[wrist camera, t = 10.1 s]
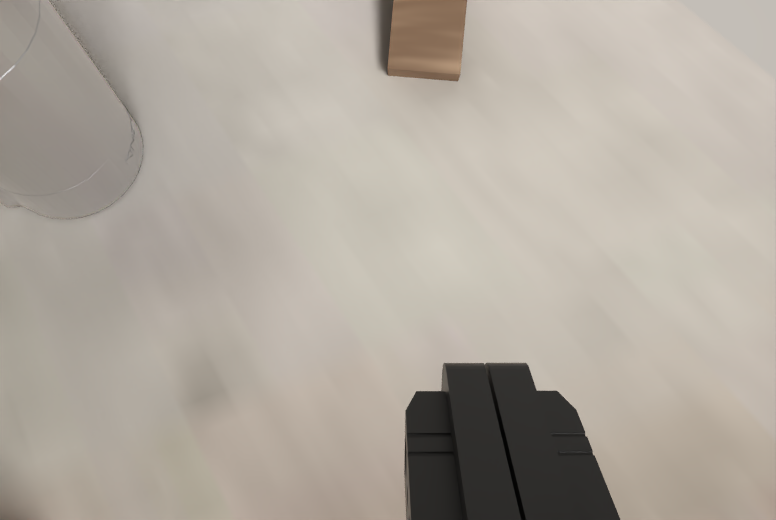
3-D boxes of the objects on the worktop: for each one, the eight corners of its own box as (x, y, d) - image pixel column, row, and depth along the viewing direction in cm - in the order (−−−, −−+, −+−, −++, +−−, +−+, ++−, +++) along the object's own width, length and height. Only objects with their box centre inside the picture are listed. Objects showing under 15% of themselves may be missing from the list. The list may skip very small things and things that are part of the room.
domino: (460, 74, 45) (473, -73, 44) (387, 68, 45) (400, -79, 45) (458, 81, 46) (470, -61, 46) (388, 75, 47) (400, -66, 46)
